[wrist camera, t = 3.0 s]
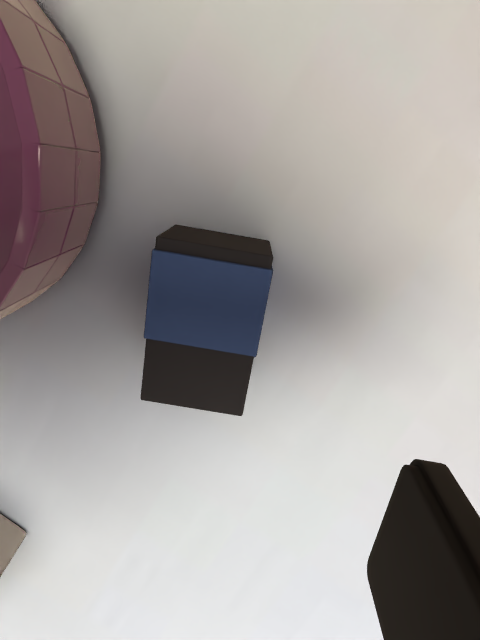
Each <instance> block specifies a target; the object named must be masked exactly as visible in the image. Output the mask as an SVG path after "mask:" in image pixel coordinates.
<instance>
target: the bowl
mask: <svg viewBox="0 0 480 640" xmlns="http://www.w3.org/2000/svg"><path fill="white" fill-rule="evenodd" d="M89 98H90V96H89V94H88V91H87V89H86V87H85V85H84V82H83V80H82V78H81V75H80V73H79V71H78V69H77V66H76V64H75V62H74V59H73V57H72V55H71V53H70V50H69V48H68V46H67V45H66V43H65V41H64V39H63V38H62V37H61V35H60V34H59V33H58V31H57V30H56V28H55V27H54V26H53V24H52V23H51V22H50V20H49V19H48V17H47V16H46V15H45V13H44V12H43V11H42V9H41V8H40V6H39V5H38V4H37V2H36V1H35V0H0V319H2V318H4V317H6V316H7V315H9V314H11V313H13V312H14V311H16V310H18V309H20V308H21V307H23V306H25V305H27V304H28V303H30V302H32V301H33V300H34V299H36V298H37V297H38V296H40V295H41V294H42V293H43V292H45V291H46V290H47V289H49V288H50V287H51V286H52V285H54V284H55V283H56V282H58V281H59V280H60V279H61V278H62V277H63V275H64V274H65V273H66V271H67V270H68V268H69V267H70V265H71V264H72V262H73V261H74V260H75V258H76V257H77V255H78V254H79V252H80V251H81V249H82V248H83V246H84V244H85V242H86V239H87V236H88V233H89V230H90V226H91V223H92V220H93V217H94V214H95V211H96V208H97V205H98V200H99V182H100V162H101V153H99V152H100V145H99V140H98V135H97V129H96V124H95V119H94V114H93V109H92V103H91V100H90V99H89Z"/></svg>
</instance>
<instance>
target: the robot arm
mask: <svg viewBox="0 0 480 640" xmlns="http://www.w3.org/2000/svg"><path fill="white" fill-rule="evenodd" d="M367 576H368V581H369V585H370V589H371V592H372V596H373V600H374V604H375V608H376V611H377V615H378V619H379V623H380V627H381V630H382V634H383V638H384V640H480V517H479V515H478V514H477V512H476V511H475V509H474V508H473V506H472V505H471V503H470V501H469V500H468V498H467V497H466V495H465V494H464V492H463V490H462V489H461V487H460V486H459V484H458V483H457V481H456V479H455V478H454V476H453V475H452V473H451V472H450V470H449V468H448V467H447V466H446V465H444V464H442V463H436V462H431V461H425V460H419V459H415V460H413V461H412V462H411V464H410V465H404V466H403V467H402V469H401V471H400V474H399V477H398V479H397V482H396V485H395V488H394V490H393V493H392V496H391V498H390V501H389V504H388V507H387V509H386V512H385V515H384V518H383V520H382V523H381V526H380V529H379V531H378V534H377V537H376V540H375V542H374V545H373V548H372V551H371V553H370V556H369V559H368V564H367Z"/></svg>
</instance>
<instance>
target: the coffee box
mask: <svg viewBox="0 0 480 640" xmlns="http://www.w3.org/2000/svg"><path fill="white" fill-rule="evenodd" d="M25 536H26V532H25V531H24V530H23V529H21V528H20V527H19V526H17V525H16V524H14V523H13V522H11V521H10V520H9V519H7V518H6V517H4V516H3V515H1V514H0V577H1V575H2V573H3V572H4V570H5V569H6V567H7V565H8V564H9V562H10V561H11V559H12V557H13V556H14V554H15V552H16V551H17V549H18V548H19V546H20V544H21V543H22V541H23V540H24V538H25Z"/></svg>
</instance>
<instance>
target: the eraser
mask: <svg viewBox="0 0 480 640" xmlns="http://www.w3.org/2000/svg"><path fill="white" fill-rule="evenodd" d="M272 261H273V255H272V251H271V246H270V242H269V241H266V240H261V239H255V238H249V237H243V236H238V235H232V234H226V233H220V232H215V231H209V230H203V229H197V228H192V227H186V226H180V225H174V226H173V227H171V228H170V229H168V230H166V231H165V232H163V233H162V234H160V235H159V236H157V237H156V246H155V248H154V249H153V250H152V257H151V267H150V278H149V288H148V299H147V309H146V320H145V330H144V338H146V348H145V358H144V368H143V379H142V389H141V400H146V401H152V402H158V403H164V404H170V405H176V406H182V407H188V408H195V409H201V410H207V411H213V412H219V413H225V414H231V415H238V416H242V415H243V410H244V404H245V399H246V394H247V389H248V384H249V379H250V374H251V369H252V364H253V358H254V357H256V355H257V350H258V345H259V340H260V335H261V330H262V325H263V319H264V314H265V309H266V304H267V299H268V294H269V289H270V284H271V279H272V274H273V269H272Z"/></svg>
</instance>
